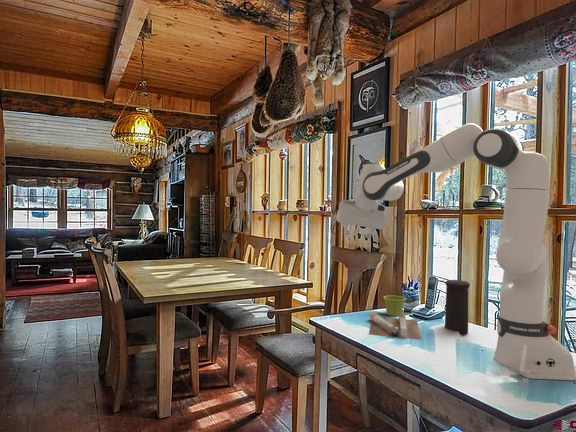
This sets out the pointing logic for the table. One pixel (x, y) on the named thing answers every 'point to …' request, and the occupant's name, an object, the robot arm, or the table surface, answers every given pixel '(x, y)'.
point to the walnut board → (410, 324)
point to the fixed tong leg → (402, 326)
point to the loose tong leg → (384, 324)
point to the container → (457, 306)
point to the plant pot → (394, 305)
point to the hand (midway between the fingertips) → (356, 236)
